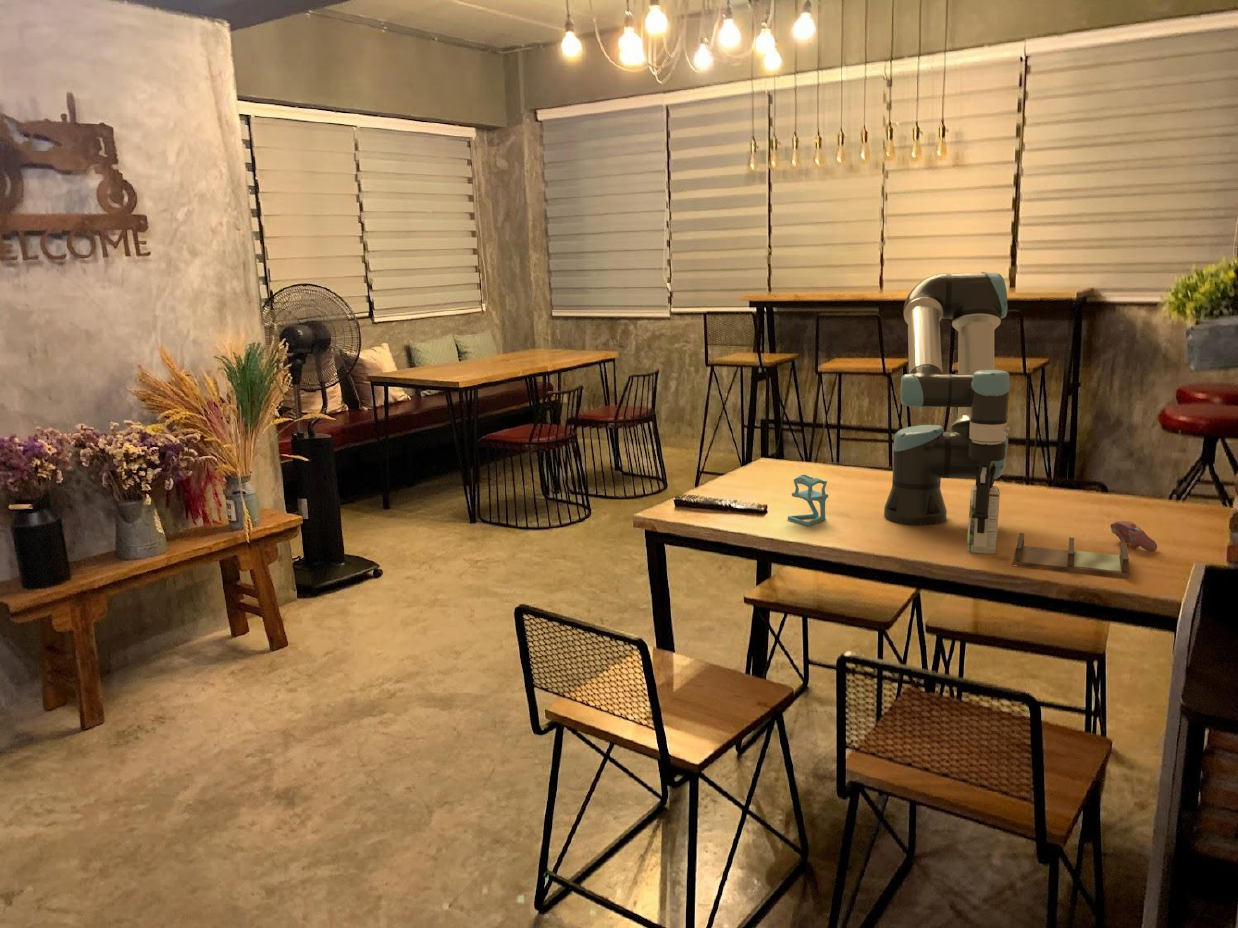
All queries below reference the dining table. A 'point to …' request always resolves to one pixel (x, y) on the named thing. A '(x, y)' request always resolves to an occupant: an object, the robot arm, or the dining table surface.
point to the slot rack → (1072, 560)
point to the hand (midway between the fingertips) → (981, 541)
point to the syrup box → (992, 522)
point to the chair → (810, 499)
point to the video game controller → (1132, 535)
